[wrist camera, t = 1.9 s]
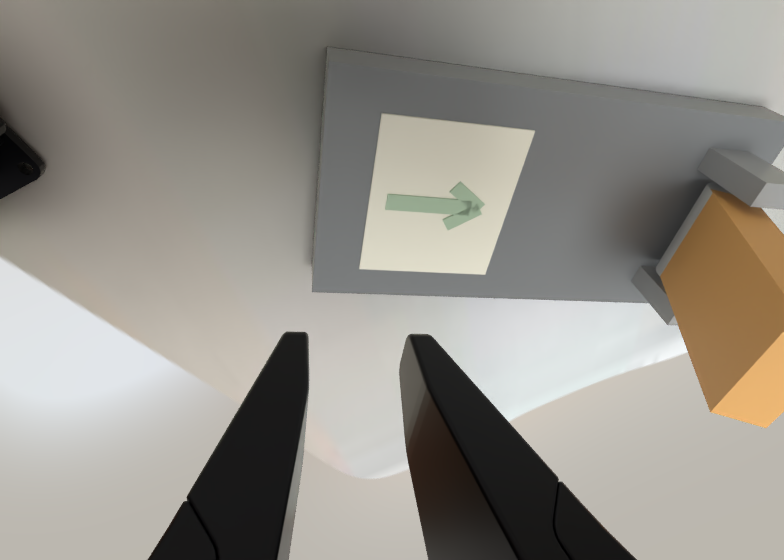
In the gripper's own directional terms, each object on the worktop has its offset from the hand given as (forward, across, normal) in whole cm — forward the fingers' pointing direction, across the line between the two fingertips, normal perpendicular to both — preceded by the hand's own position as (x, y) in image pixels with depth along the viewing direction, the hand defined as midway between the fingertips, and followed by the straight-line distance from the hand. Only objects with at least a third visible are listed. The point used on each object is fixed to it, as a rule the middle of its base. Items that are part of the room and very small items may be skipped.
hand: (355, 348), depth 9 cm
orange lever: (+11, -17, +3) cm, 20 cm away
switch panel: (+13, -9, +3) cm, 16 cm away
